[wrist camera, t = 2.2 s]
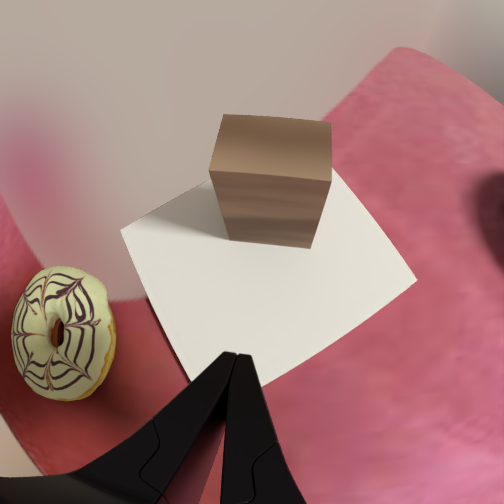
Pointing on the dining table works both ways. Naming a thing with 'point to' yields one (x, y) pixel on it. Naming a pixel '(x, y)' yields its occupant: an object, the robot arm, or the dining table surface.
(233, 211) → the walnut block
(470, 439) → the dining table surface
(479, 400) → the dining table surface
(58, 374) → the decorated donut
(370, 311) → the rubber mat
